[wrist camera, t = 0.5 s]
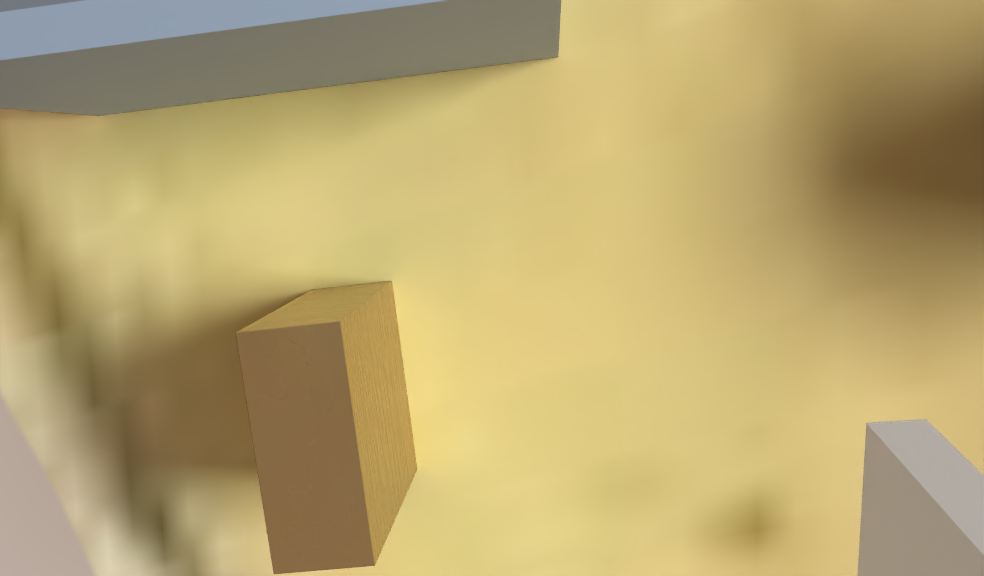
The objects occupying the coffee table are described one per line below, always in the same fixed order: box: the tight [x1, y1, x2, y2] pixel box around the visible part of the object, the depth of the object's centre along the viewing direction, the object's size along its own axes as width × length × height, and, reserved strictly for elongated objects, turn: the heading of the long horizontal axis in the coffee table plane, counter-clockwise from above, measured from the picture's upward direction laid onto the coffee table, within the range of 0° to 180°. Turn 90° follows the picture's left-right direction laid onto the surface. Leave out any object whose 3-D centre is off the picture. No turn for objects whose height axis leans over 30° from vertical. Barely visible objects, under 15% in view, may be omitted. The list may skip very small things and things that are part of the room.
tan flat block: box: [236, 281, 417, 574], centre depth 26 cm, size 6×2×7 cm, turn 7°
